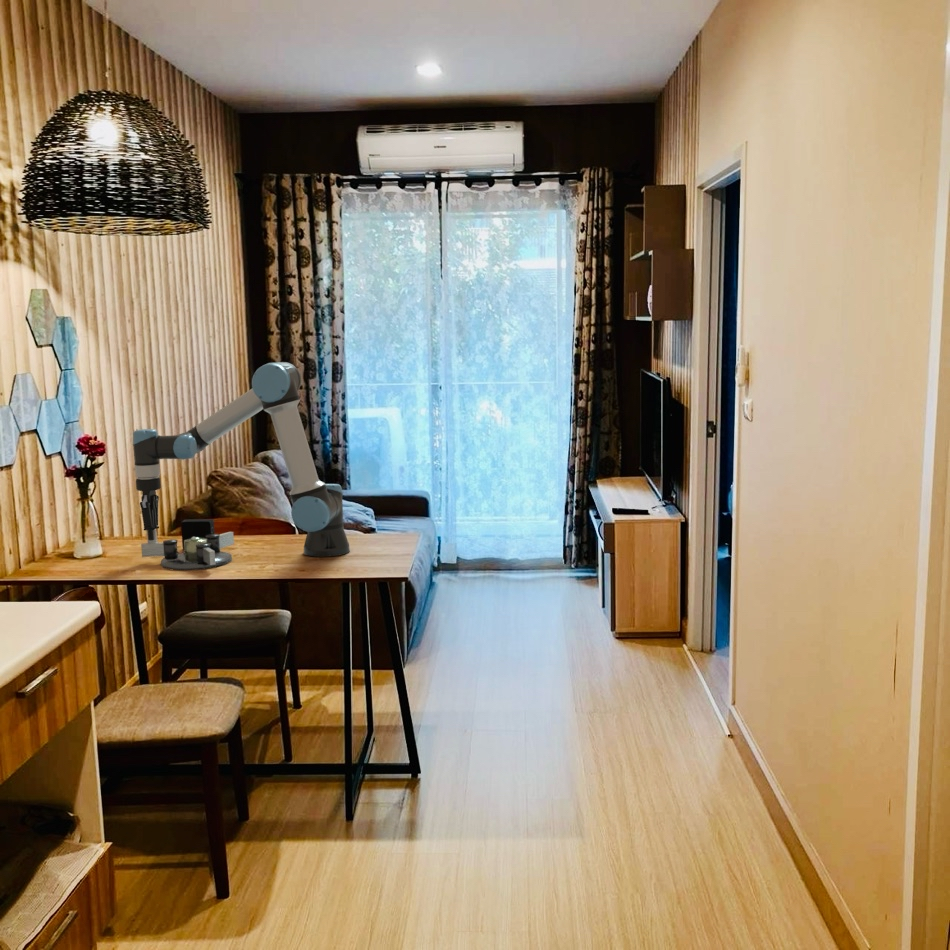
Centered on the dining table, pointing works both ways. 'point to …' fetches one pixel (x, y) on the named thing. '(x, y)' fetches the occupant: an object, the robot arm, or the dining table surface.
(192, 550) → the tribrach
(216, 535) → the knob
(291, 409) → the robot arm
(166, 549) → the knob
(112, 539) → the dining table surface
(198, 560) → the knob
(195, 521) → the electronic device
